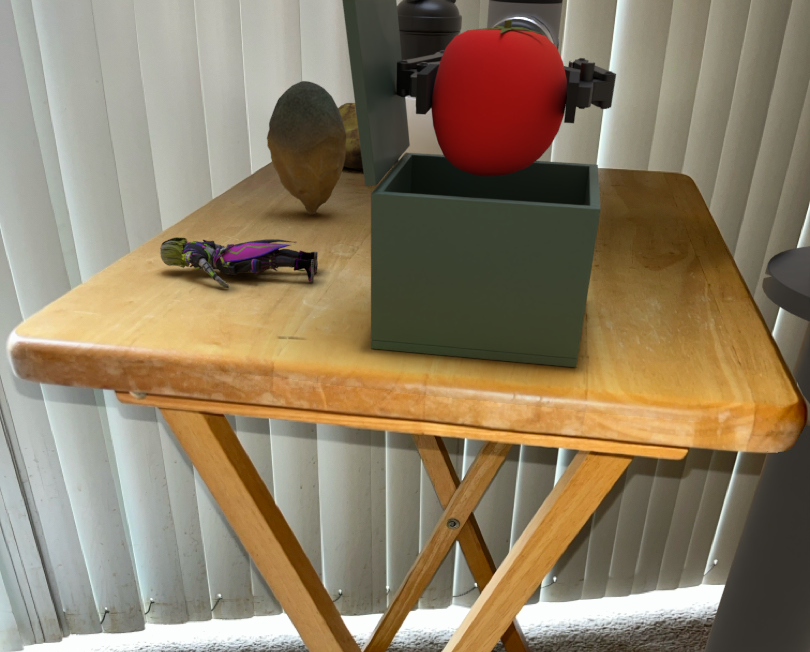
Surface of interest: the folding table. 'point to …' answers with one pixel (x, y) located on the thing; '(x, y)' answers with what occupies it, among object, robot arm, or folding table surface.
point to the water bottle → (427, 26)
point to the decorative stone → (307, 143)
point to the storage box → (483, 260)
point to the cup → (420, 131)
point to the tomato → (498, 99)
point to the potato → (351, 136)
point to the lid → (376, 84)
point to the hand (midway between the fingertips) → (495, 98)
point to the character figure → (236, 257)
